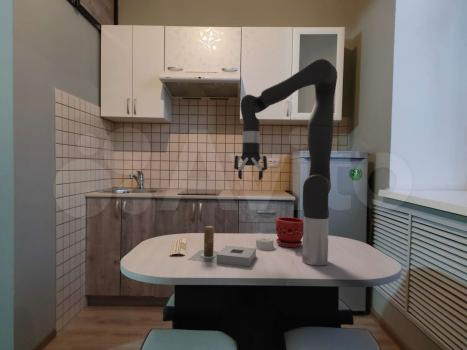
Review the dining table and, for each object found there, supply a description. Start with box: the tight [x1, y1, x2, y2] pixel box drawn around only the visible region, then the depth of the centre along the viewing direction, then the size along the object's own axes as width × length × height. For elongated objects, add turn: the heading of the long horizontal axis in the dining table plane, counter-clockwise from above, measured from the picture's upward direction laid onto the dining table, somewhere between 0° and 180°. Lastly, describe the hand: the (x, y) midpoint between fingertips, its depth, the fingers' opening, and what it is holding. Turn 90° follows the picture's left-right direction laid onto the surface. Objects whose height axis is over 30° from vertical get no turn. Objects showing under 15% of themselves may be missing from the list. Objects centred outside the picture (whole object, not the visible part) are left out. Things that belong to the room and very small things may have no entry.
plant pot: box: [275, 216, 303, 248], centre depth 135 cm, size 13×13×12 cm
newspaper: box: [169, 237, 187, 257], centre depth 126 cm, size 24×7×2 cm, turn 8°
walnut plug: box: [203, 225, 215, 257], centre depth 112 cm, size 4×4×11 cm
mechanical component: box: [252, 237, 277, 251], centre depth 127 cm, size 10×4×10 cm
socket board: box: [187, 245, 257, 268], centre depth 111 cm, size 23×13×4 cm, turn 75°
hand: (250, 179), depth 128 cm, fingers open, 8 cm apart
